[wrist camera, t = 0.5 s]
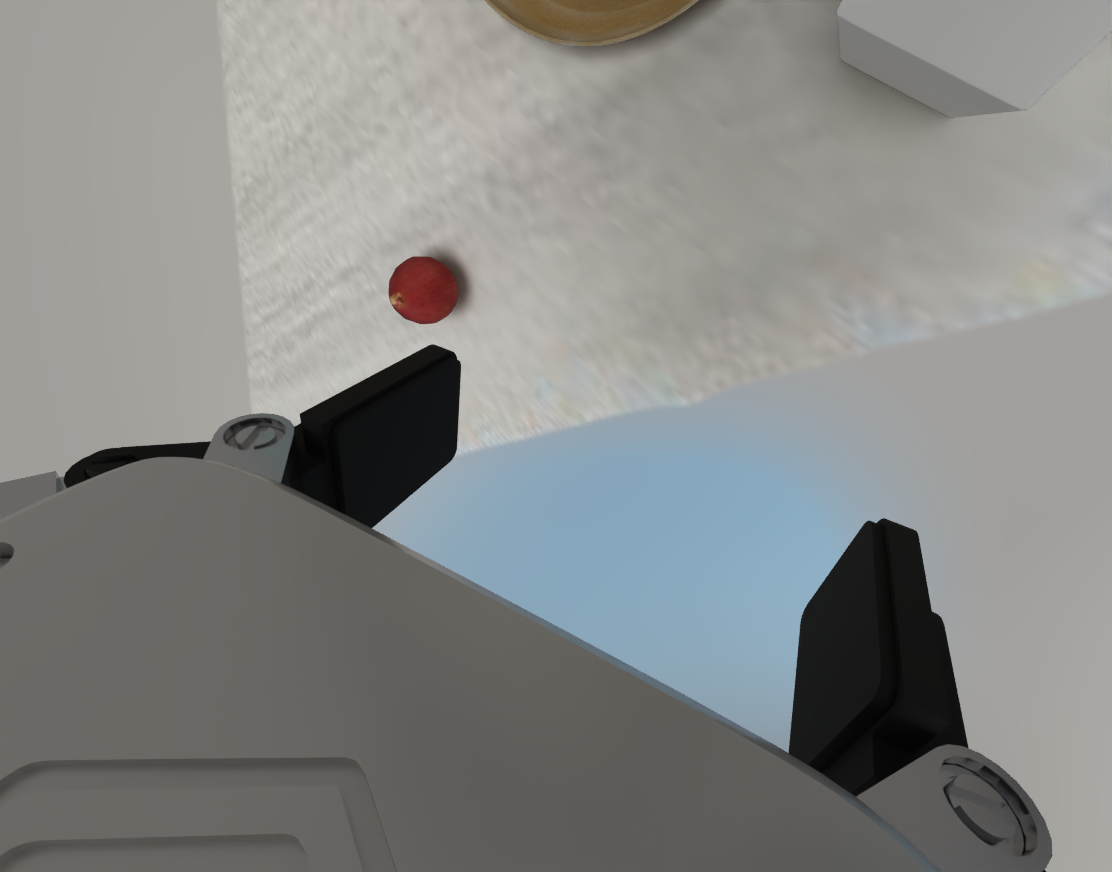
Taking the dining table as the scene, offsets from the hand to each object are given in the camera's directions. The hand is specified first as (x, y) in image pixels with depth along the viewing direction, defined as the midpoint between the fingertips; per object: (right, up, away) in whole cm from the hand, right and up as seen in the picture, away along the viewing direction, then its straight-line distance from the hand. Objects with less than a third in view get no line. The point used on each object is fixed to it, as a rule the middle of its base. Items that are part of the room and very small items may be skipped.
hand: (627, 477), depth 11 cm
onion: (-12, +16, +37) cm, 42 cm away
